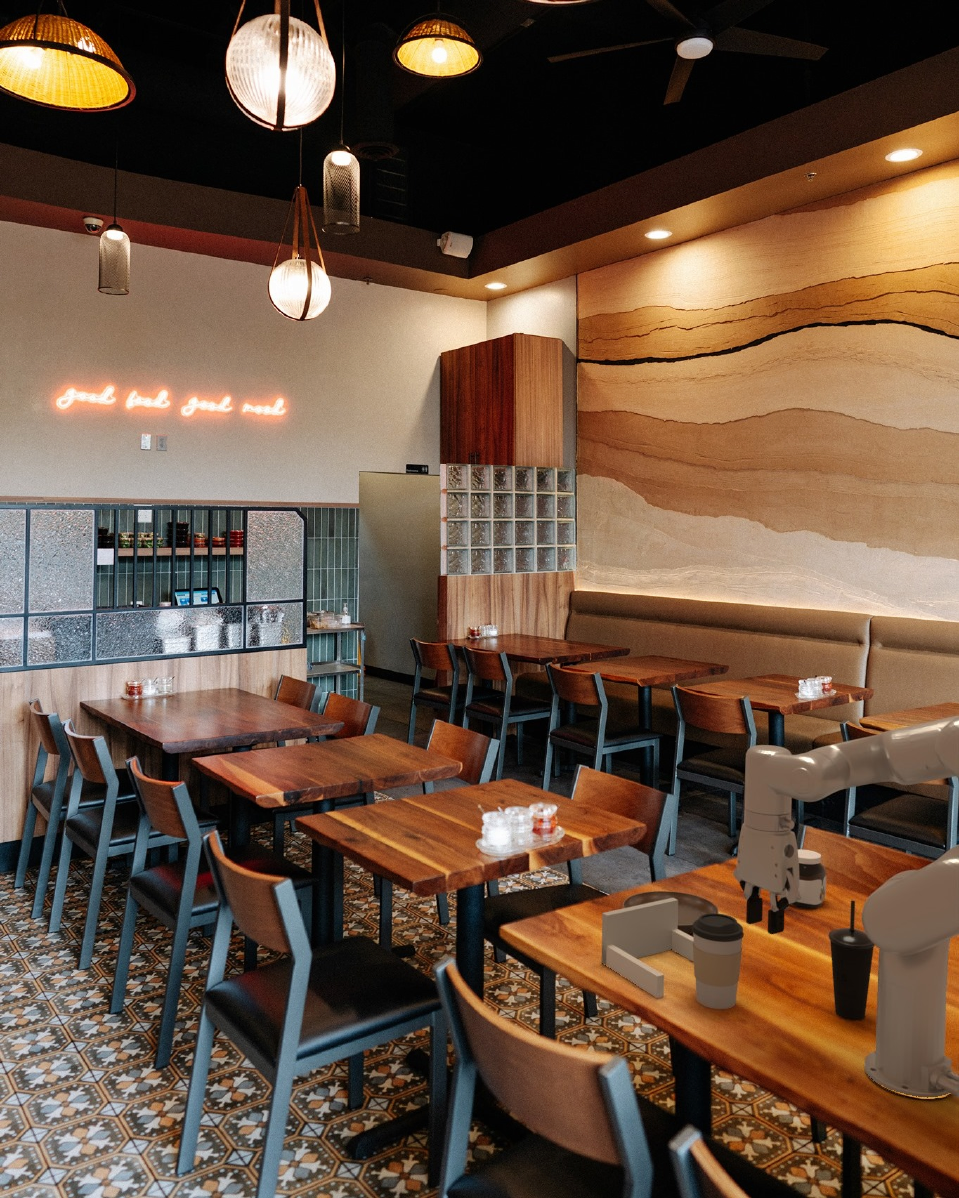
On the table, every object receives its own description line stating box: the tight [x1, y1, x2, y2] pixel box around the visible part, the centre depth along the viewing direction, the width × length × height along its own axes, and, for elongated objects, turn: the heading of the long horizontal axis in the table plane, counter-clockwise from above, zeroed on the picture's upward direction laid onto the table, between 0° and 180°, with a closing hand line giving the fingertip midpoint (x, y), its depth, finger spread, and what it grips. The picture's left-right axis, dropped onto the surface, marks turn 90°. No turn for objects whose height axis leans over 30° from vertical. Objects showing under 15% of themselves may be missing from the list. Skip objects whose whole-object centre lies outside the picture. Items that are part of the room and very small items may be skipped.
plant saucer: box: [622, 890, 720, 935], centre depth 205 cm, size 21×21×3 cm
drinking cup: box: [828, 900, 876, 1022], centre depth 162 cm, size 8×8×20 cm
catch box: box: [601, 898, 694, 999], centre depth 179 cm, size 16×18×10 cm
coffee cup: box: [692, 913, 745, 1010], centre depth 167 cm, size 9×9×15 cm
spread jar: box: [786, 849, 827, 910], centre depth 217 cm, size 12×11×12 cm
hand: (764, 926), depth 157 cm, fingers open, 4 cm apart
